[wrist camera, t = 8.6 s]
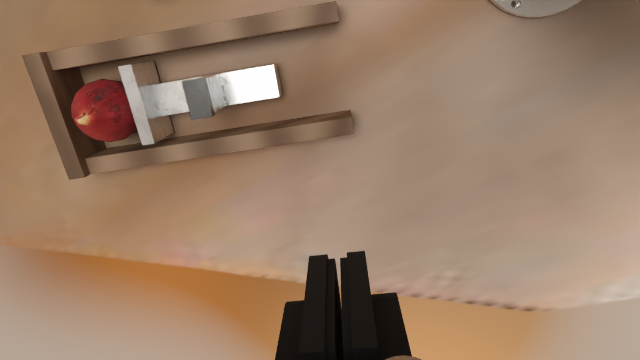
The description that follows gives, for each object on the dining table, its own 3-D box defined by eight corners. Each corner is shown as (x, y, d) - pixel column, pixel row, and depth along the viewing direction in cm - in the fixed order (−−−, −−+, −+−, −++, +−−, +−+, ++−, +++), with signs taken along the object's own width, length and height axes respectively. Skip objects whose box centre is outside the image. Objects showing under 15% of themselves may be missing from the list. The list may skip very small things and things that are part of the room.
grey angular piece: (272, 41, 39) (259, 41, 32) (286, 114, 42) (276, 130, 34) (142, 63, 40) (99, 68, 33) (162, 133, 43) (127, 153, 35)
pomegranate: (111, 64, 41) (61, 70, 33) (163, 95, 42) (126, 108, 34) (90, 113, 43) (38, 129, 35) (140, 142, 43) (100, 164, 36)
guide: (335, 4, 39) (336, -1, 34) (351, 125, 42) (354, 136, 38) (57, 53, 41) (21, 55, 36) (96, 164, 44) (69, 179, 40)
